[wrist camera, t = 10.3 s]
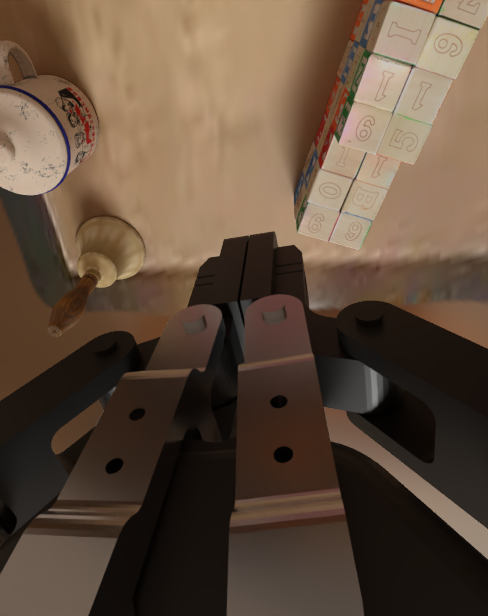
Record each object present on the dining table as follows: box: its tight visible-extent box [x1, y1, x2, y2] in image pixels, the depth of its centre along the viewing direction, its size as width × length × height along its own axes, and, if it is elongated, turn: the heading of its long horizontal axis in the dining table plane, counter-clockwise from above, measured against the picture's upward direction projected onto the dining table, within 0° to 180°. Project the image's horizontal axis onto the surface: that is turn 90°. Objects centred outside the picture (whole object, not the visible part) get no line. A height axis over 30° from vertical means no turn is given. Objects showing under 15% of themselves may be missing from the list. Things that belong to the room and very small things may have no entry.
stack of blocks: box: [294, 0, 488, 250], centre depth 38 cm, size 21×6×12 cm, turn 164°
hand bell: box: [48, 216, 146, 336], centre depth 47 cm, size 8×8×16 cm
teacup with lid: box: [0, 40, 99, 195], centre depth 40 cm, size 12×9×12 cm
